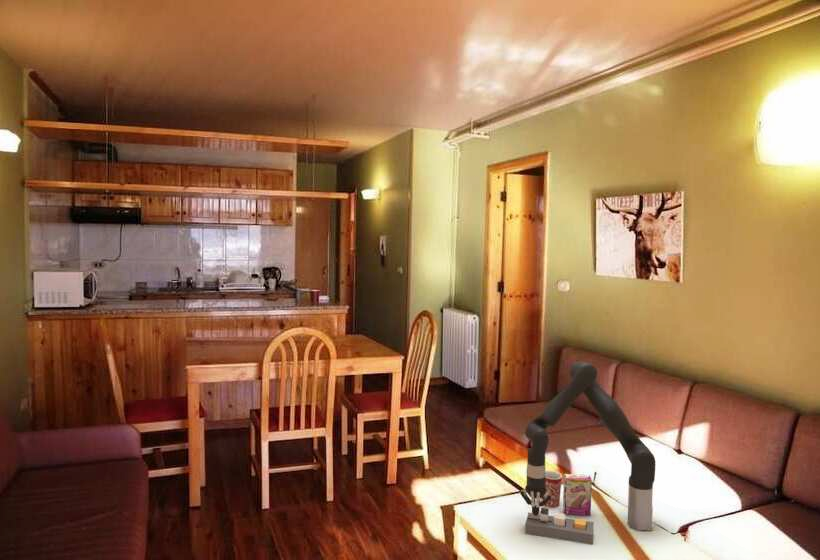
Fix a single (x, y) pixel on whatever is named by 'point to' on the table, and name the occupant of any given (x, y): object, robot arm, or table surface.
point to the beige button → (559, 519)
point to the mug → (553, 487)
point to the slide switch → (544, 514)
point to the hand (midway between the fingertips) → (535, 514)
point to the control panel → (558, 529)
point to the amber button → (580, 524)
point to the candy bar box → (577, 494)
